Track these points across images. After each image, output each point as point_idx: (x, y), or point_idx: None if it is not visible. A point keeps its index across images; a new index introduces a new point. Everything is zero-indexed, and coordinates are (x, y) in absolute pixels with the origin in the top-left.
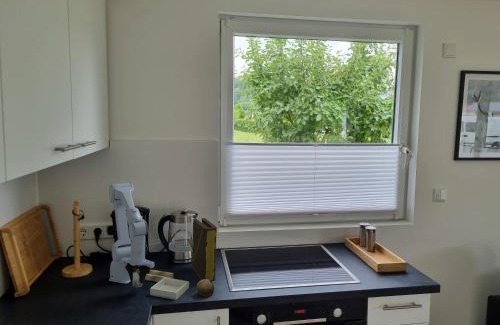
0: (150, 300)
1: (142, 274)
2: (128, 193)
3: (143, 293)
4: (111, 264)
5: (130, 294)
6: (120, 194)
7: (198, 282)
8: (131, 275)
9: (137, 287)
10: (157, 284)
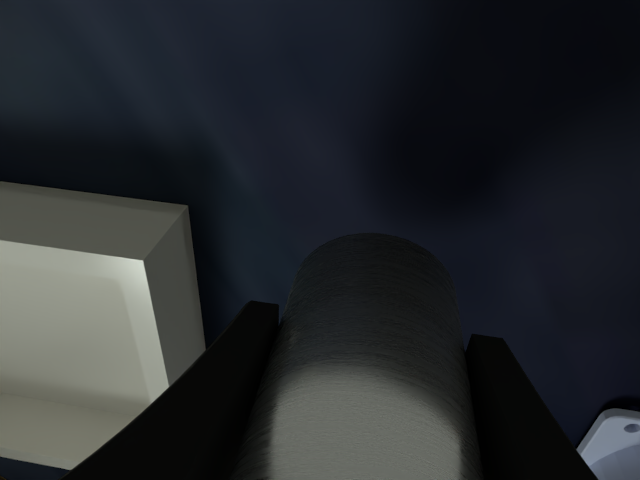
0: (84, 65)
1: (76, 474)
2: None
3: (294, 233)
4: None
5: (456, 174)
6: None
7: None
8: (511, 465)
9: (334, 239)
10: (143, 368)
